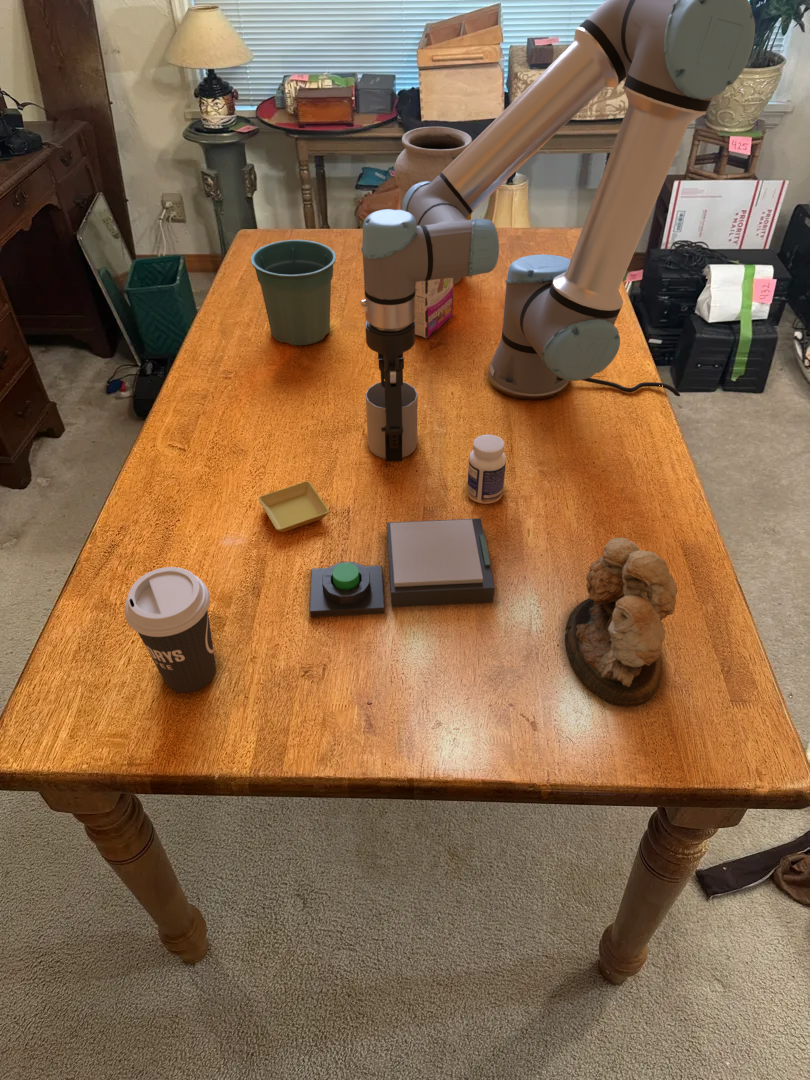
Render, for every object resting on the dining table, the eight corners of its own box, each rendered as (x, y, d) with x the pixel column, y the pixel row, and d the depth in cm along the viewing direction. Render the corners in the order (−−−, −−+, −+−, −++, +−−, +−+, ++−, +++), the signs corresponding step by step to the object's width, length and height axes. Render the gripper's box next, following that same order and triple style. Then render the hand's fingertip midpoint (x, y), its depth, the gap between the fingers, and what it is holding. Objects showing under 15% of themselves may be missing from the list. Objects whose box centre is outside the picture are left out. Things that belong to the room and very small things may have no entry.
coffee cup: (157, 644, 99) (128, 564, 89) (231, 639, 100) (210, 559, 89) (145, 706, 92) (112, 627, 82) (224, 700, 93) (202, 621, 83)
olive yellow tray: (278, 540, 113) (276, 530, 112) (258, 506, 119) (256, 496, 117) (331, 522, 116) (330, 512, 115) (310, 489, 122) (308, 479, 120)
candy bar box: (433, 311, 165) (434, 236, 153) (453, 317, 163) (456, 241, 151) (405, 333, 158) (405, 256, 146) (426, 339, 156) (427, 262, 145)
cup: (411, 461, 127) (411, 411, 120) (363, 455, 128) (360, 406, 121) (420, 432, 133) (421, 383, 126) (374, 427, 134) (372, 378, 127)
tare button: (359, 570, 105) (358, 562, 104) (359, 590, 103) (359, 581, 101) (333, 572, 105) (332, 563, 104) (333, 591, 103) (332, 582, 101)
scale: (479, 532, 114) (481, 513, 112) (493, 602, 104) (495, 583, 102) (386, 536, 114) (386, 518, 111) (391, 607, 104) (391, 588, 101)
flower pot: (348, 316, 163) (344, 242, 152) (330, 355, 152) (323, 278, 140) (275, 310, 165) (265, 236, 154) (251, 348, 154) (238, 271, 142)
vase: (474, 294, 170) (484, 150, 150) (395, 294, 171) (393, 150, 150) (470, 260, 183) (478, 123, 162) (396, 259, 184) (395, 123, 163)
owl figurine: (549, 601, 104) (567, 508, 93) (632, 594, 105) (660, 501, 94) (585, 712, 92) (611, 621, 80) (679, 703, 92) (719, 612, 81)
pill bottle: (506, 486, 122) (512, 435, 115) (497, 508, 118) (503, 457, 111) (471, 478, 124) (475, 428, 117) (462, 500, 120) (465, 450, 113)
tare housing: (382, 570, 109) (381, 556, 107) (384, 613, 103) (384, 598, 101) (312, 574, 108) (310, 559, 106) (310, 617, 103) (308, 602, 100)
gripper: (363, 284, 123) (367, 396, 138) (367, 364, 105) (372, 483, 120) (409, 282, 123) (409, 395, 138) (421, 362, 106) (419, 481, 121)
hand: (391, 436), depth 129 cm, fingers open, 12 cm apart
